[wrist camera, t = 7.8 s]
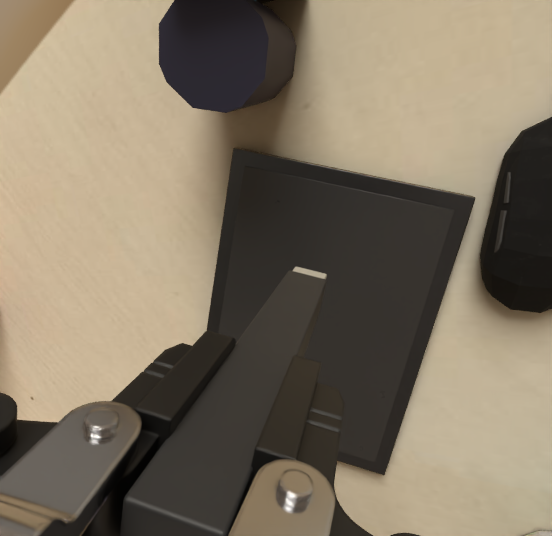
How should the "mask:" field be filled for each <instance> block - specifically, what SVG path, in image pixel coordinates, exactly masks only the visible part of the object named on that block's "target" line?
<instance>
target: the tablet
mask: <svg viewBox="0 0 552 536" xmlns="http://www.w3.org/2000/svg"><path fill="white" fill-rule="evenodd" d="M474 201H475V197H473V196H469V195H464V194H459V193H454V192H450V191H445V190H440V189H435V188H430V187H425V186H420V185H415V184H411V183H406V182H401V181H396V180H391V179H386V178H381V177H376V176H372V175H367V174H362V173H357V172H352V171H347V170H342V169H337V168H333V167H328V166H323V165H318V164H313V163H308V162H303V161H298V160H294V159H289V158H284V157H279V156H274V155H269V154H264V153H259V152H254V151H250V150H245V149H240V148H234V149H233V155H232V162H231V169H230V176H229V183H228V189H227V196H226V203H225V210H224V217H223V224H222V230H221V237H220V244H219V251H218V258H217V264H216V271H215V278H214V285H213V292H212V298H211V305H210V312H209V319H208V326H207V331H212V332H215V333H219V334H222V335H226V336H229V337H233V338H235V340H236V343H237V341H238V340H239V338H240V337H241V336H242V334H243V333H244V332H245V330H246V329H247V327H248V326H249V325H250V323H251V322H252V321H253V319H254V318H255V316H256V315H257V314H258V312H259V311H260V310H261V308H262V307H263V305H264V304H265V303H266V301H267V300H268V299H269V297H270V296H271V294H272V293H273V292H274V290H275V289H276V288H277V286H278V285H279V283H280V282H281V281H282V279H283V278H284V277H285V275H286V274H287V272H288V271H290V270H291V271H293V269H294V268H295V267H300V268H304V269H308V270H312V271H316V272H320V273H324V274H327V277H326V280H327V283H326V287H325V291H324V295H323V300H322V304H321V308H320V312H319V316H318V318H317V321H316V324H315V327H314V330H313V332H312V335H311V338H310V341H309V343H308V346H307V349H306V352H305V355H304V357H303V358H307V359H310V360H314V361H317V362H321V363H322V364H321V368H320V372H319V376H318V380H317V383H320V384H324V385H327V386H331V387H334V388H337V389H338V390H339V392H340V394H341V396H342V398H343V401H344V403H345V406H344V413H343V419H342V428H341V435H340V442H339V450H338V457H337V460H338V461H341V462H344V463H347V464H350V465H353V466H357V467H360V468H363V469H366V470H369V471H372V472H376V473H379V474H382V475H385V472H386V469H387V466H388V463H389V460H390V457H391V454H392V451H393V448H394V445H395V441H396V438H397V435H398V432H399V429H400V426H401V423H402V420H403V417H404V414H405V411H406V408H407V405H408V402H409V399H410V396H411V393H412V390H413V387H414V384H415V381H416V378H417V375H418V372H419V368H420V365H421V362H422V359H423V356H424V353H425V350H426V347H427V344H428V341H429V338H430V335H431V332H432V329H433V326H434V323H435V320H436V317H437V314H438V311H439V308H440V305H441V302H442V299H443V296H444V292H445V289H446V286H447V283H448V280H449V277H450V274H451V271H452V268H453V265H454V262H455V259H456V256H457V253H458V250H459V247H460V244H461V241H462V238H463V235H464V232H465V229H466V226H467V223H468V219H469V216H470V213H471V210H472V207H473V204H474Z"/></svg>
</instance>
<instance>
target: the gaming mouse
mask: <svg viewBox="0 0 552 536" xmlns="http://www.w3.org/2000/svg"><path fill="white" fill-rule="evenodd" d="M480 259H481V269H482V279H483V281H484V284H485V287H486V289H487V290H488V292H489V293H490V294H491V295H492V297H494V298H495V299H497V300H498V301H499V302H501V303H502V304H504V305H505V306H507V307H508V308H509V309H512V310H521V311H529V312H538V313H541V312H544V311H547V310H549V309H552V117H551V118H549V119H547V120H544V121H542V122H540V123H538V124H536V125H534V126H532V127H530V128H527V129H525V130H523V131H522V132H521V133H520V134H519V136H518V137H517V138H516V140H515V141H514V142H513V144H512V145H511V146H510V148H509V149H508V150H507V152H506V153H505V155H504V159H503V162H502V166H501V169H500V173H499V176H498V180H497V183H496V188H495V192H494V197H493V201H492V206H491V210H490V214H489V218H488V222H487V225H486V229H485V233H484V237H483V242H482V247H481V253H480Z"/></svg>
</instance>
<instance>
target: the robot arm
mask: <svg viewBox="0 0 552 536" xmlns="http://www.w3.org/2000/svg"><path fill="white" fill-rule="evenodd" d="M235 345H236V340H235V338H233V337H229V336H226V335H222V334H219V333H215V332H212V331H206V332H205V333H204V334H203V335H202V336H201V337H200V338H199V339H198V340H197V342H196V343H195V344H194V345H193V346H190V345H187V344H184V343H181V344H179V345H176V346H174V347H171V348H169V349H166V350H165V351H164V352H163V353H162V354H160V355H159V356H158V357H157V358H156V359H155V360H154V362H153V363H151V364H150V365H149V366H148V367H147V368H146V369H145V370H144V372H142V373H140V374H139V375H138V376H137V377H136V378H135V379H134V380H133V381H132V382H131V383H130V384H129V385H128V386H127V387H126V388H125V389H124V390H123V391H122V392H120V393H119V394H118V395H117V396H116V397H115V398H114V399H113V400H112V401H100V402H93V403H88V404H85V405H82V406H80V407H78V408H76V409H74V410H72V411H71V412H70V413H68V414H67V415H66V416H65V417H64V418H63V419H62V420H61V421H59V422H58V423H57V422H39V421H25V420H17V405H16V402H15V401H14V400H13V398H11V397H10V396H8V395H6V394H4V393H0V536H120V530H121V520H122V509H123V500H124V497H125V495H126V494H127V493H128V491H129V490H130V489H131V487H132V486H133V484H134V483H135V482H136V480H137V479H138V478H139V476H140V475H141V473H142V472H143V471H144V469H145V468H146V467H147V465H148V464H149V462H150V461H151V460H152V458H153V457H154V456H155V454H156V453H157V451H158V450H159V449H160V447H161V446H162V445H163V443H164V442H165V440H166V439H168V438H169V437H170V435H171V434H172V433H173V431H174V430H175V428H176V427H177V426H178V424H179V423H180V422H181V420H182V419H183V417H184V416H185V415H186V413H187V412H188V410H189V409H190V408H191V406H192V405H193V403H194V402H195V401H196V399H197V398H198V397H199V395H200V394H201V392H202V391H203V390H204V388H205V387H206V385H207V384H208V383H209V381H210V380H211V378H212V377H213V376H214V374H215V373H216V372H217V370H218V369H219V367H220V366H221V365H222V363H223V362H224V360H225V359H226V358H227V356H228V355H229V354H230V352H231V351H232V349H233V348H234V347H235ZM321 364H322V363H321V362H317V361H314V360H310V359H307V358H303V357H300V356H296V355H293V357H292V360H291V362H290V364H289V367H288V369H287V372H286V374H285V377H284V379H283V381H282V384H281V386H280V389H279V391H278V393H277V396H276V398H275V401H274V403H273V405H272V408H271V410H270V413H269V415H268V417H267V420H266V422H265V425H264V427H263V430H262V432H261V434H260V437H259V439H258V442H257V444H256V446H255V450H254V455H253V460H252V465H251V467H252V468H253V474H252V479H251V483H250V488H249V491H248V493H247V495H246V498H245V500H244V502H243V504H242V506H241V509H240V511H239V513H238V515H237V517H236V520H235V522H234V524H233V526H232V528H231V531H230V533H229V535H228V536H373V535H371V534H370V533H368V532H367V531H365V530H364V529H362V528H361V527H360V526H358V525H357V524H356V523H355V522H354V521H353V520H351V519H350V518H349V516H348V515H347V514H346V513H345V512H344V510H343V509H342V507H341V506H340V504H339V502H338V500H337V498H336V495H335V490H334V479H335V472H336V464H337V457H338V450H339V442H340V435H341V428H342V419H343V413H344V406H345V403H344V401H343V398H342V396H341V394H340V392H339V390H338V389H337V388H334V387H331V386H327V385H324V384H320V383H317V380H318V376H319V372H320V368H321ZM391 536H419V535H415V534H411V533H397V534H394V535H391Z"/></svg>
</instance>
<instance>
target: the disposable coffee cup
mask: <svg viewBox="0 0 552 536" xmlns="http://www.w3.org/2000/svg"><path fill="white" fill-rule="evenodd" d="M525 536H552V531H536V532H533V533H531V534H528V535H525Z"/></svg>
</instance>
